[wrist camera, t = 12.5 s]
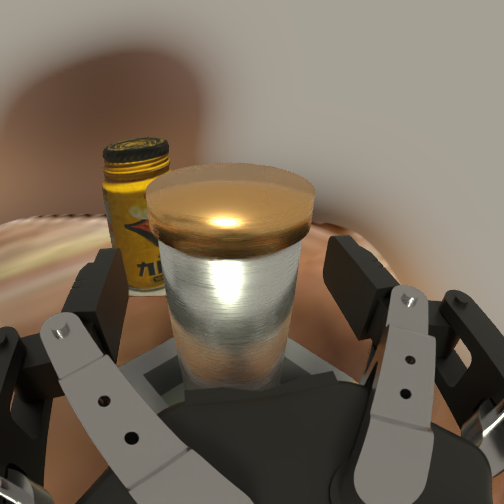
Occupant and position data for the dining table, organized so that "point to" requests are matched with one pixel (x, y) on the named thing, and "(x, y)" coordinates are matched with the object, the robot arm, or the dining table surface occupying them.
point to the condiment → (135, 209)
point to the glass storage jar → (230, 267)
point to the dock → (171, 381)
